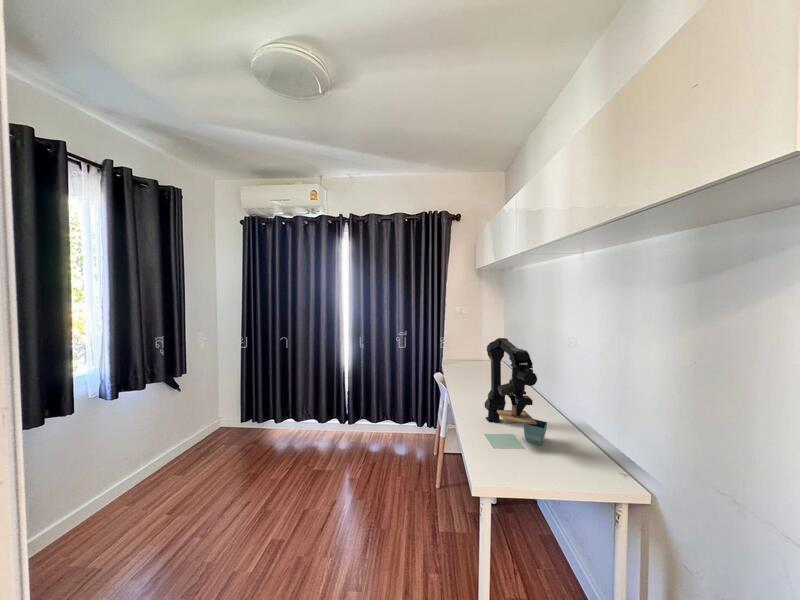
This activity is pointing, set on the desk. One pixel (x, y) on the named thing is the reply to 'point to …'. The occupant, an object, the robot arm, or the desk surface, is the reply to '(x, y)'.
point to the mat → (504, 441)
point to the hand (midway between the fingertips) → (516, 413)
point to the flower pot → (535, 432)
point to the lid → (512, 417)
